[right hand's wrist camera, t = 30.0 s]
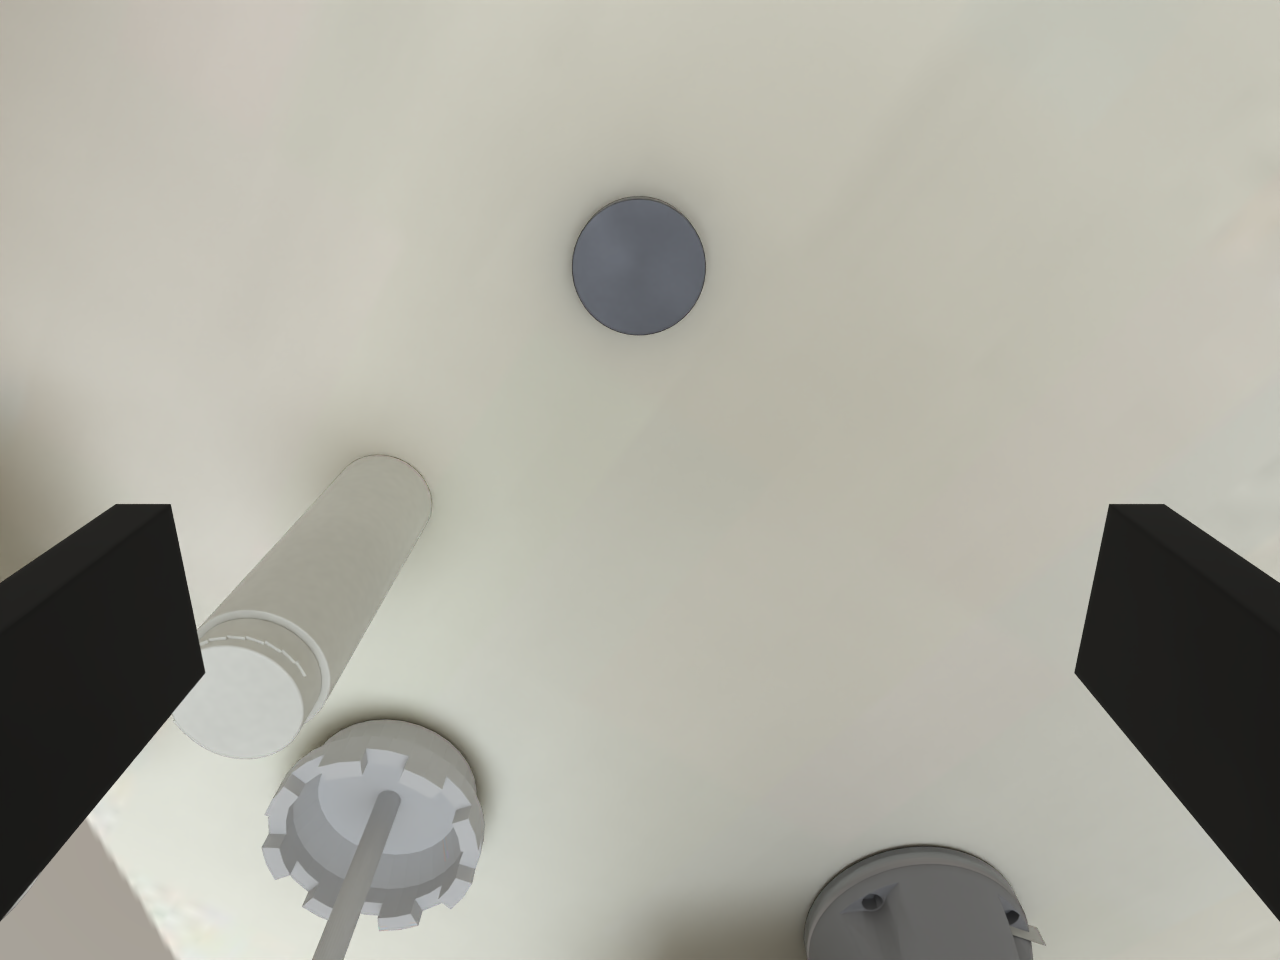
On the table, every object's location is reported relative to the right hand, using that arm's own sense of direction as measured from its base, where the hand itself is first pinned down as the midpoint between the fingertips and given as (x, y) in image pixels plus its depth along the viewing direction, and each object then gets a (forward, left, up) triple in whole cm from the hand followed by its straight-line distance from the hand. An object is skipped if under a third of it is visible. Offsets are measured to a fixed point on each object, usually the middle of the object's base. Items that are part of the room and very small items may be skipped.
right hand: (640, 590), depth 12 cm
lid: (0, 0, -34) cm, 34 cm away
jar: (-15, +13, -36) cm, 41 cm away
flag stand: (-36, +11, -36) cm, 52 cm away
